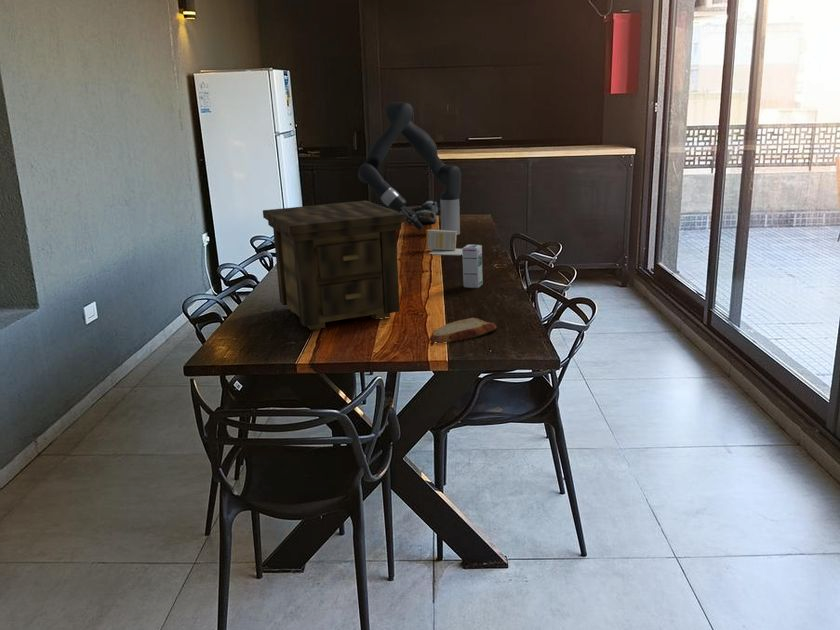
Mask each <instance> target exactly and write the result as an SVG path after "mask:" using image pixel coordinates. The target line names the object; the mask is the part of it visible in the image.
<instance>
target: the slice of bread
mask: <svg viewBox="0 0 840 630" xmlns="http://www.w3.org/2000/svg"><path fill="white" fill-rule="evenodd" d="M496 329H497V324H496V323H495V322H489V321H485V320H483V319H481V318H477V317H470V318H464V319H458V320H456V321H453V322H448V323H446V324H444V325H443V326H440V327H439V328H436V329H435V330H434V331H433V332H431V335H430V341H431V340H432V341H433V342H437V343H444V342H450V343H452V342H451V341H456V342H458V341H457V340H461V341H463V340H462V339H465V340H468V339H467V338H470V339H473V337H474V338H477V337H482V336H483V335H487V334H488V333H492V332H493V331H495V330H496ZM432 341H431V342H432ZM433 342H432V343H433ZM444 344H445V343H444Z"/></svg>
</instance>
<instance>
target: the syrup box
mask: <svg viewBox="0 0 840 630" xmlns="http://www.w3.org/2000/svg"><path fill="white" fill-rule="evenodd" d="M461 249H462V277H463V278H462V282H463V287H464V288H469V289H470V288H471V289H479V288H480V287H481V286H482V285H483V284H484V283H483V282H484V278H483V277H484V275H483V271H484V270H483V245H481V244H466V245H465V246H464V247H462V248H461Z"/></svg>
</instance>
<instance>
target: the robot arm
mask: <svg viewBox="0 0 840 630" xmlns="http://www.w3.org/2000/svg"><path fill="white" fill-rule="evenodd" d="M385 115H386V117H387V118H386V119H387V120H388V121H389V123H391V124H390V126H388V127H387V129H386V130H385V131H384V132H382V134H380V135H379V137H378V138H377V139H375V141H374V143H373V144H372V146H371V148H370V150H369V152H368V153H367V156H366V159H365V161H364V162H363V164H361V165H360V166H359V168H358V173H357V174H358V175H357V177H358V180H359V181H360V182H361V183H363V184H368V185H369V186H370V187H371V189H372V191H373V193H374V194H375V195H376V196H377V197H378V198H379V199H380V200H381V201H382V203H383V205H386V206H385V207H386V208H389V209H392V210H395V211H398V212H401V213H403V214H406V222H405V223H408V224H409V225H413V226H414V227H416V229H417V230H418V231H420V230H422V229H423V228H424V225H423V224H422V222H419V221H418V217H417V216H416V214H415V213H416V211H415V210H414V209H412V208H410V207H408V206H407V205H406V204H407V200H406V199H405V198H404V197H403V196H402V194H400V193H399V192H398V191H397V190H396V189H394V188H393V187H392V186H391V185H390V184H389V183H388V182H387V181H386V180H385V179H384V177H383V176H382V175H381V174H380V173H379V171H378V170H379V167H380V166H381V164H382V162H383V161H384V159H385V157H386V156H387V154H388V153H389V150H390V149H391V147H392V146H393V144H394V143H395V141H396V140H397V139H398V138H399V136H400V135H401V134H402V136H404V138H405V140H406V141H407V142H408V143H409V144H410V146H411V147H412V149H413V150H414V151H416V153H417V154H418V156H419V157H420V159H422V160H423V161H424V163H425V164H426V166H427V167H428V168H429V170H430V171H431V172H432V174H433V176H434V178H435V179H436V181H437V182H439V183H440V184H442V185H446V188H445V191H442V192H440V194H439V199H440V201H439V203H440V230H448V231H457V233H456V236H458V235H460V234H461V227H460V226H461V223H460V222H461V215H460V214H461V213H460V196H461V192H462V172H461V169H460V167H458V165H451V164H450V165H449V164H446V163H444V162H443V161H442V159H441V158H440V157H439V155H438V147H437V144H436V143H435V141H434V140H433V139H432V137H431V136H430V135H429V133H427V132H426V131H425V130H424V129H422V128H421V127H419V126H418V125H416V124H415V123H414V122H413V121H412V118H413V116H414V109H413V107H412V105H411V103H408V102H404V101H393V102H389V104H387V105H386V108H385Z"/></svg>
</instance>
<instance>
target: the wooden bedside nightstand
mask: <svg viewBox="0 0 840 630" xmlns="http://www.w3.org/2000/svg"><path fill="white" fill-rule="evenodd" d="M262 216H263V219H265V220H267V222H268V226H269V227H271V228H272V229H273V230H272V232H273V239H274V249H275V250H274V251H275V252H274V253H275V259H276V261H275V262H276V273H277V282H278V293H279V302H280V304H281V305H283V306H287V307H288V308H289V311H290V312H291V313H292V314H295V315H296V316H297V317H298V318H299V323H300V325H302V327H306V326H307V327H308V328H309V329H310V330H312V331H314V330H313V329H318V330H321V329H320V328H325V329H326V323H329V322H334V321H340V320H346V319H348V320H349V319H355V318H359V317H366V316H370V317H371V316H373V317H374V318H375V319H380V318H385V317H390V318H391V314H392V313H401V312H400V311H401V310H400V308H401V307H400V289H399V288H400V287H399V266H398V248H397V243H398V242H397V241H398V240H397V231H401V230H402V225H401V223H407V222H406V214H403V213H401V212H398V211H395V210H392V209H389V208H388V207H387V206H383V205H379V204H376V203H374V202H371V201H369V200H359V201H356V200H355V201H347V202H346V201H345V202H337V203H336V202H335V203H328V204H327V203H326V204H314V205H305V206H297V207H296V206H295V207H284V208H283V207H282V208H274V209H273V208H272V209H263V210H262ZM373 317H372V318H373ZM374 318H373V319H374ZM375 319H374V320H375ZM307 327H306V328H307ZM308 328H307V329H308ZM309 329H308V330H309ZM310 330H309V331H310Z"/></svg>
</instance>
